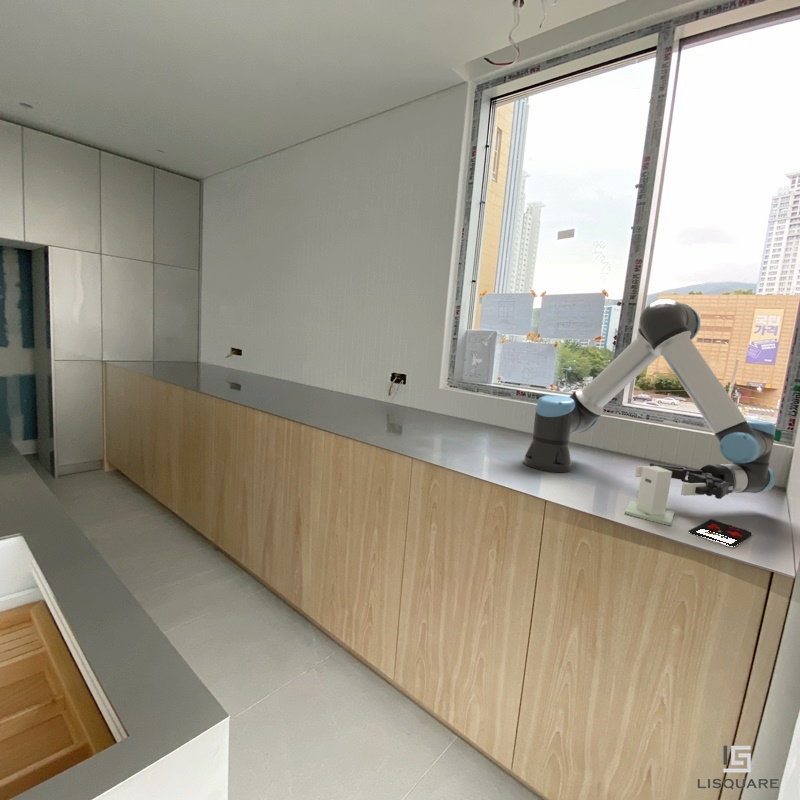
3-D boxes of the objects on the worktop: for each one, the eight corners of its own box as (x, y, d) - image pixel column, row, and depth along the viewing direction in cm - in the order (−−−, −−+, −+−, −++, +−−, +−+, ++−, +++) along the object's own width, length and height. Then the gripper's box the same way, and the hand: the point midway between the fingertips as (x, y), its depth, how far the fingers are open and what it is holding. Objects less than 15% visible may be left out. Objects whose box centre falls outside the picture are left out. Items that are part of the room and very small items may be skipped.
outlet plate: (624, 513, 111) (624, 510, 111) (630, 503, 119) (630, 500, 119) (670, 526, 106) (671, 523, 106) (673, 514, 114) (674, 511, 114)
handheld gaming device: (754, 531, 105) (733, 545, 96) (752, 536, 105) (732, 550, 96) (710, 517, 112) (688, 529, 103) (709, 522, 112) (687, 535, 103)
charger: (635, 508, 114) (642, 466, 112) (649, 507, 115) (656, 466, 114) (650, 515, 110) (657, 471, 108) (664, 514, 111) (672, 471, 110)
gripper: (769, 511, 107) (703, 514, 100) (677, 477, 130) (618, 478, 124) (775, 480, 106) (709, 481, 99) (681, 452, 129) (622, 451, 122)
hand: (658, 480), depth 111 cm, fingers open, 13 cm apart
